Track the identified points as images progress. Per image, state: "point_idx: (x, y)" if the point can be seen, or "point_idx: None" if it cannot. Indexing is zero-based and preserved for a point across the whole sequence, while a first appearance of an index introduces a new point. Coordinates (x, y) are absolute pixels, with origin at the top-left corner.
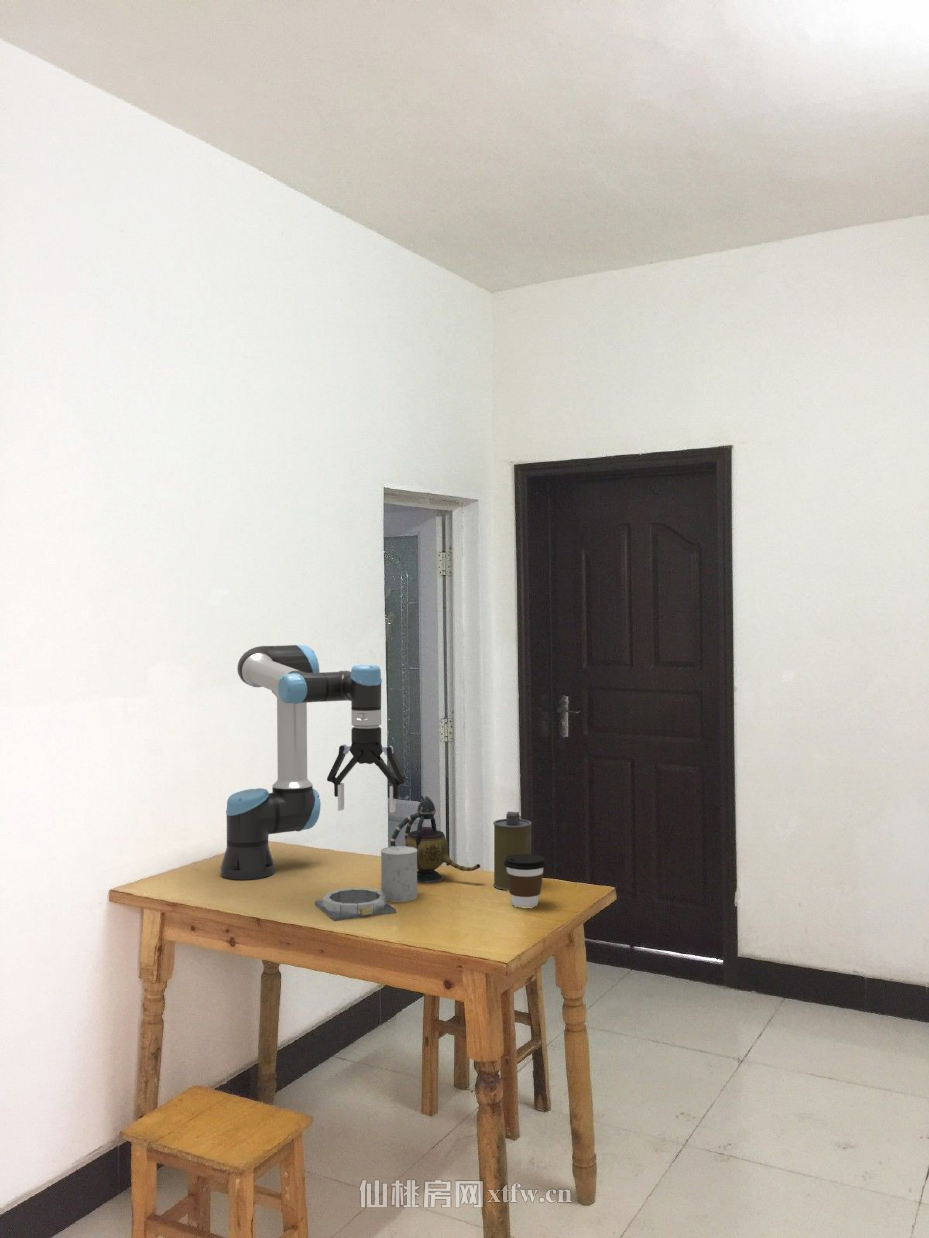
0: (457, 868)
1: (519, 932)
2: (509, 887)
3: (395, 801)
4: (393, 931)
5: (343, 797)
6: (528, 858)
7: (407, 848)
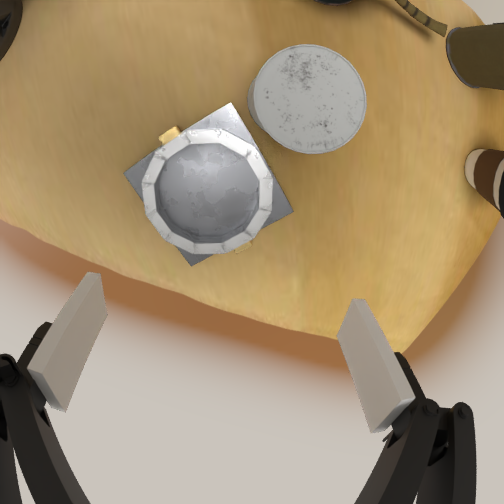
0: (404, 9)
1: (441, 281)
2: (478, 180)
3: (380, 329)
4: (294, 299)
5: (79, 320)
6: None
7: (335, 71)
